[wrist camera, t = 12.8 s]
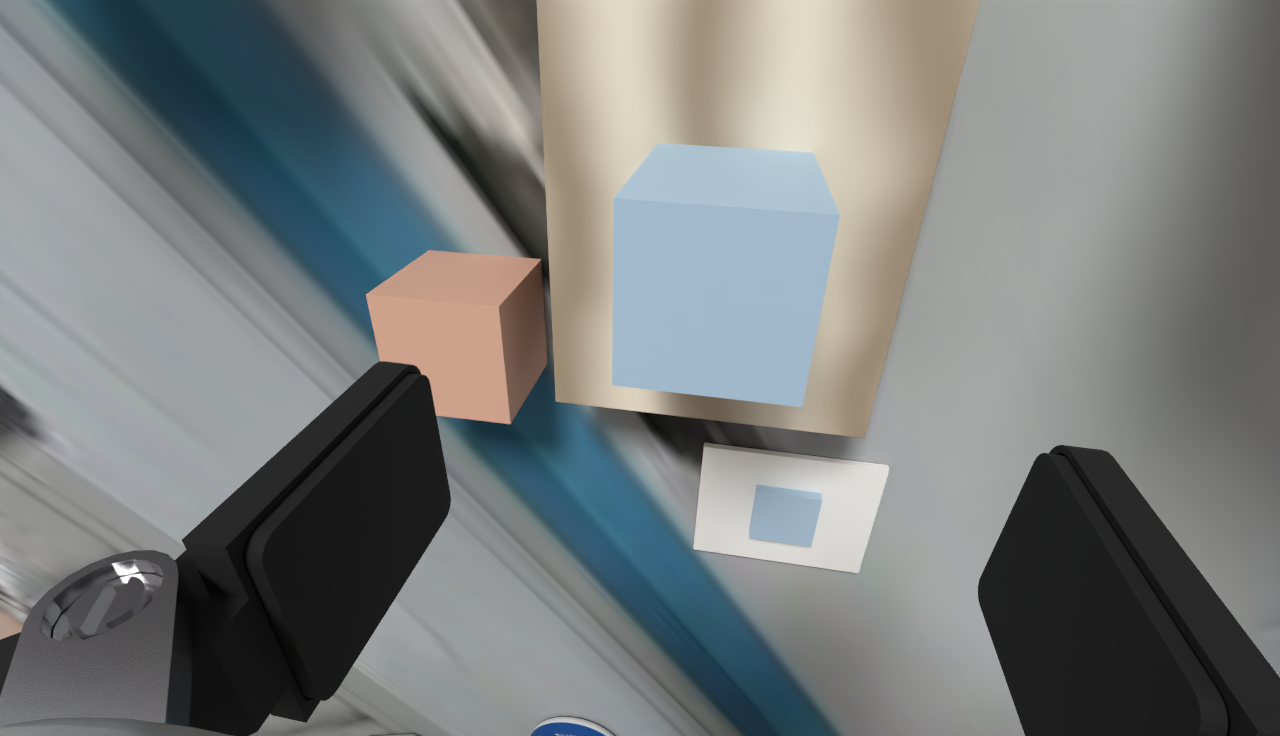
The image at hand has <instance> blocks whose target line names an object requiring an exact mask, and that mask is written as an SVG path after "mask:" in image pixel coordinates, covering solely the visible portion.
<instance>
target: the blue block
mask: <svg viewBox="0 0 1280 736" xmlns="http://www.w3.org/2000/svg"><path fill="white" fill-rule="evenodd" d="M839 218H840V214H839V211H838V209H837V207H836V204H835V202H834V200H833V197H832V195H831V192H830V190H829V188H828V185H827V183H826V181H825V178H824V176H823V174H822V171H821V169H820V167H819V164H818V162H817V160H816V157H815V155H814V153H813V152H797V151H781V150H765V149H749V148H733V147H717V146H701V145H685V144H669V143H658V144H657V145H656V146H655V148H654V149H653V150H652V151H651V153H650V154H649V155H648V156H647V158H646V159H645V160H644V161H643V163H642V164H641V165H640V166H639V167H638V169H637V170H636V171H635V172H634V174H633V175H632V176H631V177H630V179H629V180H628V181H627V182H626V184H625V185H624V186H623V187H622V189H621V190H620V191H619V192H618V194H617V195H616V196H615V197H614V233H613V342H612V385H613V386H622V387H630V388H639V389H648V390H656V391H665V392H674V393H683V394H691V395H700V396H709V397H717V398H726V399H735V400H744V401H752V402H761V403H770V404H778V405H787V406H796V407H802V406H803V401H804V396H805V391H806V385H807V380H808V375H809V370H810V365H811V360H812V355H813V350H814V345H815V340H816V335H817V330H818V324H819V319H820V314H821V309H822V304H823V299H824V294H825V289H826V284H827V279H828V274H829V269H830V264H831V258H832V253H833V248H834V243H835V238H836V233H837V228H838V223H839Z"/></svg>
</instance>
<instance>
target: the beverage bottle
mask: <svg viewBox="0 0 1280 736" xmlns="http://www.w3.org/2000/svg"><path fill="white" fill-rule="evenodd" d="M531 736H614V735H613V734H611V733H610V732H609V731H608V730H606V729H605V728H603V727H601V726H599V725H597V724H595V723H593V722H590V721H587V720H584V719H580V718H575V717H555V718H550V719H547V720H545V721H543V722H541V723H540V724H538V725H537V726H536V727H535V729H534V730H533V732H532V734H531Z"/></svg>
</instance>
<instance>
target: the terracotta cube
mask: <svg viewBox="0 0 1280 736" xmlns="http://www.w3.org/2000/svg"><path fill="white" fill-rule="evenodd" d="M366 297H367V302H368V307H369V311H370V316H371V320H372V325H373V330H374V334H375V339H376V343H377V348H378V353H379V357H380V361H386V362H394V363H402V364H411V365H415V366H417V367H418V369H419V370H420V372H421V375H425V376H427V377H428V379H429V381H430V385H431V391H432V396H433V402H434V407H435V413H436V415H437V416H445V417H454V418H462V419H471V420H479V421H488V422H496V423H505V424H511V423H512V421H513V419H514V418H515V416H516V414H517V413H518V411H519V409H520V408H521V406H522V405H523V403H524V401H525V400H526V398H527V396H528V395H529V393H530V391H531V390H532V388H533V386H534V385H535V383H536V382H537V380H538V378H539V377H540V375H541V373H542V372H543V370H544V368H545V367H546V365H547V363H548V361H547V344H546V328H545V312H544V295H543V279H542V262H541V259H531V258H519V257H506V256H494V255H482V254H469V253H457V252H445V251H432V250H429V251H427V252H426V253H424V254H423V255H421V256H420V257H419V258H417V259H416V260H414V261H413V262H412V263H410V264H409V265H407V266H406V267H404V268H403V269H402V270H400V271H399V272H397V273H396V274H394V275H393V276H392V277H390V278H389V279H387V280H386V281H384V282H383V283H382V284H380V285H379V286H377V287H376V288H374V289H373V290H372V291H370V292H369V293H367V294H366Z"/></svg>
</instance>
